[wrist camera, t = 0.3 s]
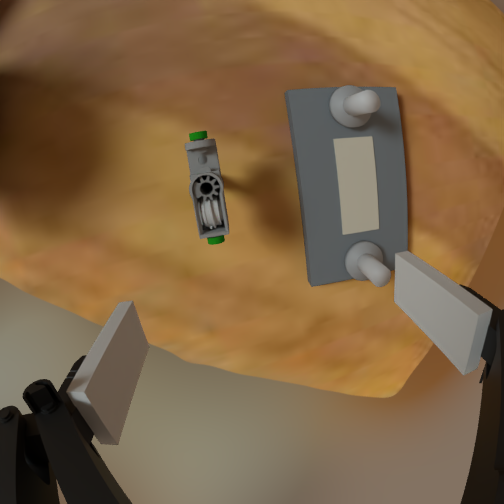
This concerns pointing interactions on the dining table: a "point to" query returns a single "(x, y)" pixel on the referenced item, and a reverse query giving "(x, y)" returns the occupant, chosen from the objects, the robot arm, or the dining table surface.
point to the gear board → (349, 181)
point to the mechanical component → (207, 188)
